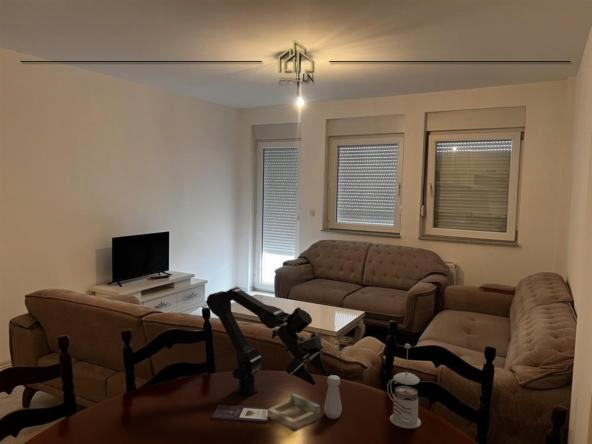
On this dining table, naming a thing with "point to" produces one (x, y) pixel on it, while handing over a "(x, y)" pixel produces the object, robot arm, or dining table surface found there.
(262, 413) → the chocolate bar
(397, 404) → the french press
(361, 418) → the dining table surface
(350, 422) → the dining table surface
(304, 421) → the maple tray
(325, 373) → the robot arm
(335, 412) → the salt shaker
